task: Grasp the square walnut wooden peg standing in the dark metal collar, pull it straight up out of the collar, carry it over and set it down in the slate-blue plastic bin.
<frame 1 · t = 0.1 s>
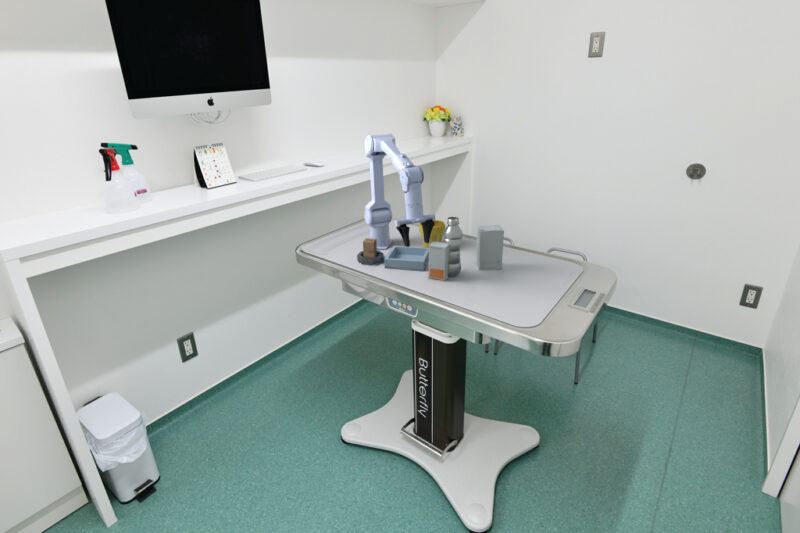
hand: (417, 244, 152), 11 cm above the table, tool pointing down, fingers open, 7 cm apart
peg: (370, 250, 166), in the collar
plant pot: (431, 247, 181), on the table
bin: (408, 262, 166), on the table
collar: (370, 260, 168), on the table
silver tall piece: (451, 275, 155), on the table, touching skincare box
skincare box: (438, 277, 153), on the table, touching silver tall piece
skincare box 2: (488, 267, 161), on the table
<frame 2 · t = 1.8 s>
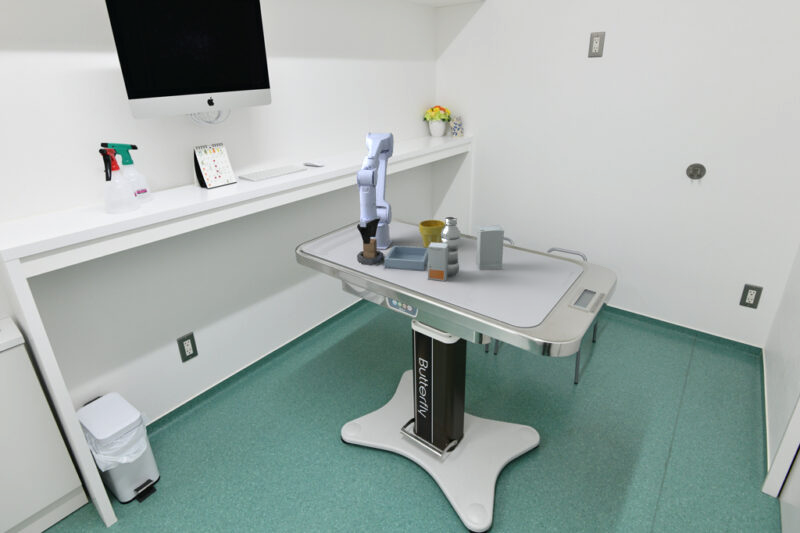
hand: (369, 240, 165), 8 cm above the table, tool pointing down, fingers open, 7 cm apart
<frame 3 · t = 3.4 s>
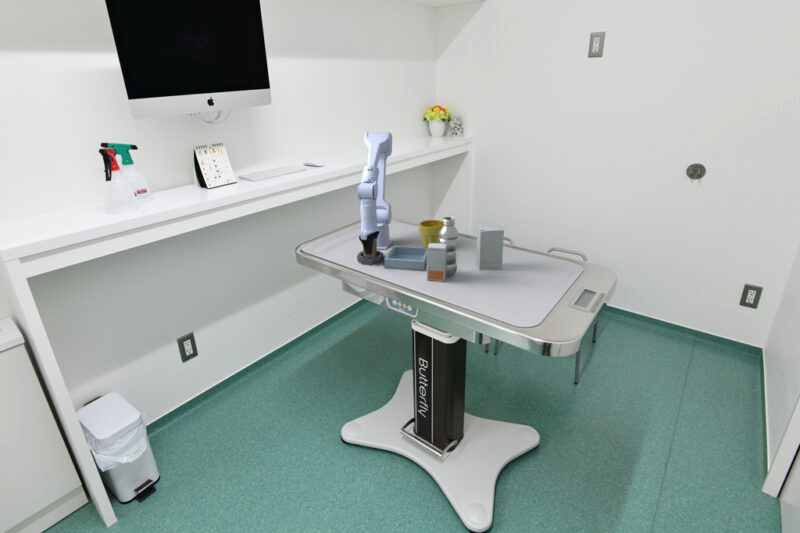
hand: (370, 251, 167), 3 cm above the table, tool pointing down, fingers closed on peg, 4 cm apart
peg: (370, 250, 166), in the collar, touching gripper
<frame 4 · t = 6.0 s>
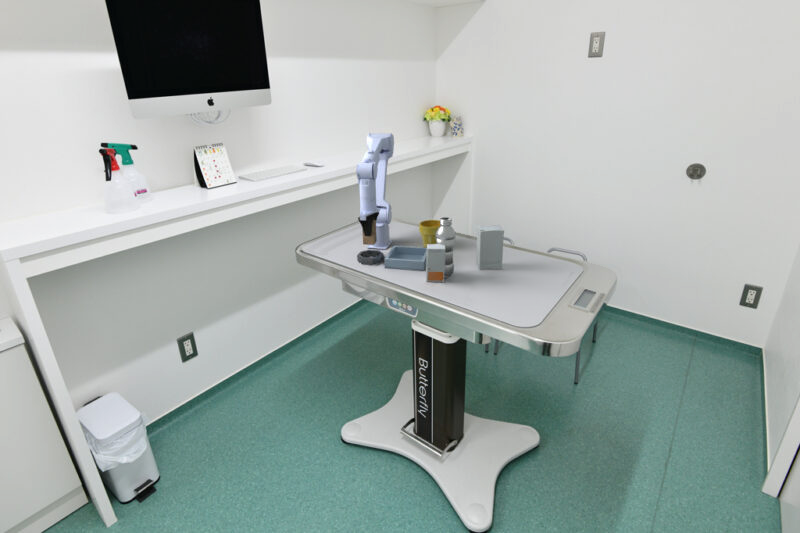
hand: (369, 233, 164), 10 cm above the table, tool pointing down, fingers closed on peg, 4 cm apart
peg: (369, 232, 164), point 11 cm above the table, touching gripper
silver tall piece: (443, 275, 155), on the table, touching skincare box
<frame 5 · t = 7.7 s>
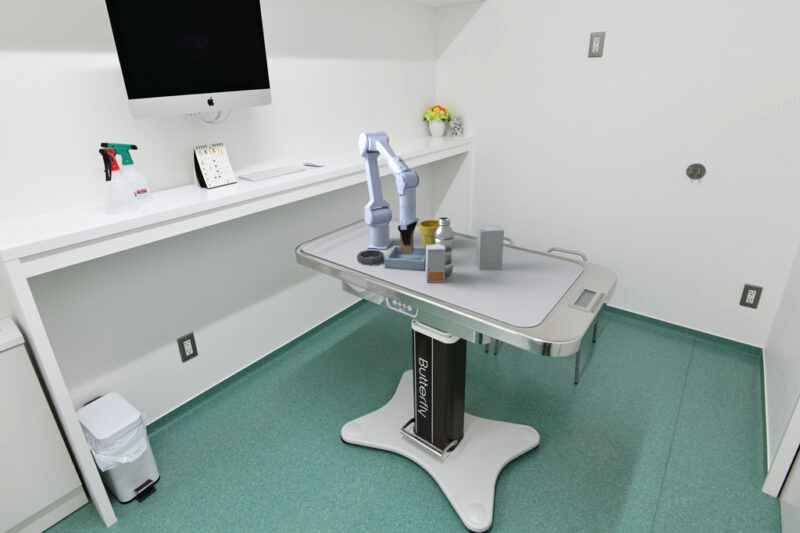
hand: (407, 242, 163), 8 cm above the table, tool pointing down, fingers closed on peg, 4 cm apart
peg: (407, 241, 163), point 8 cm above the table, touching gripper
when the fingers open (5 cm above the table, at t = 9.0 s): peg stays where it is, resting on bin.
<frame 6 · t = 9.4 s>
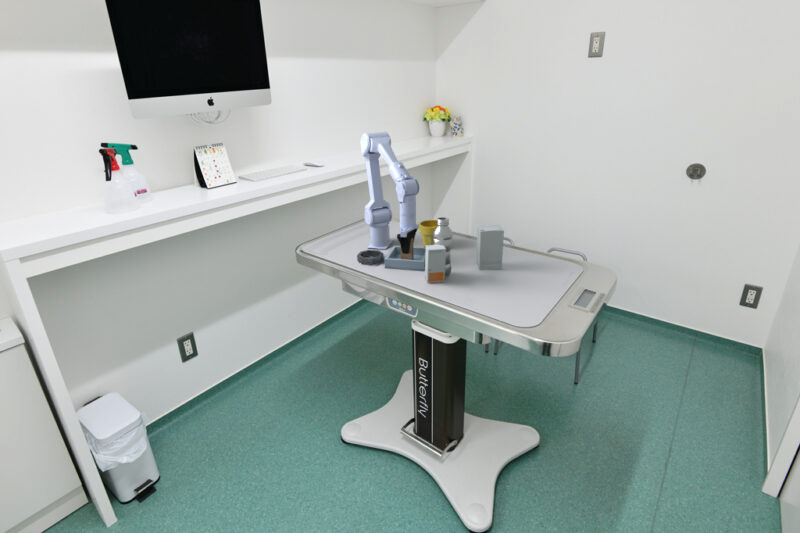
hand: (407, 249, 164), 5 cm above the table, tool pointing down, fingers open, 7 cm apart
peg: (407, 250, 164), in the bin, point 5 cm above the table
silver tall piece: (441, 276, 154), on the table, touching skincare box
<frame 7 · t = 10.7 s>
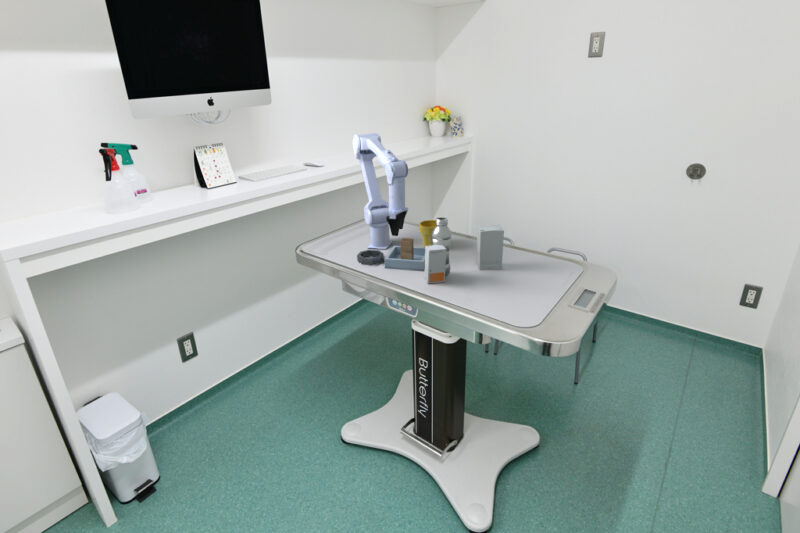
hand: (397, 232, 166), 10 cm above the table, tool pointing down, fingers open, 7 cm apart
silver tall piece: (440, 276, 154), on the table, touching skincare box
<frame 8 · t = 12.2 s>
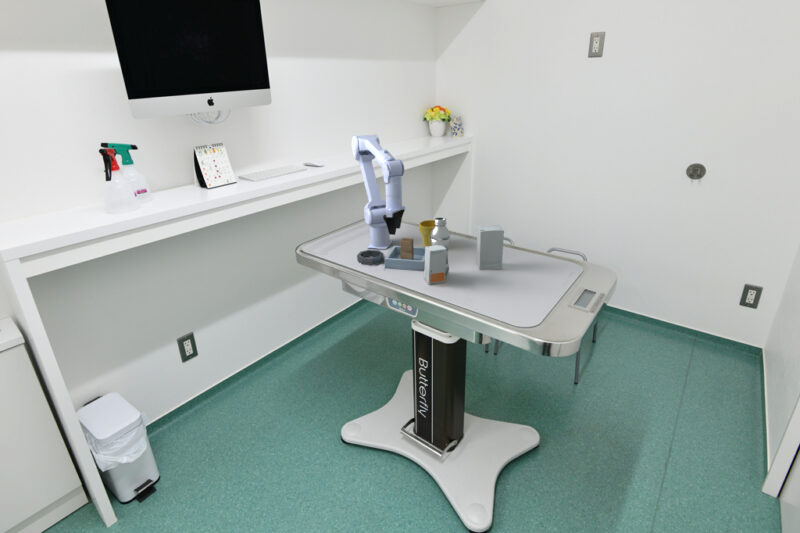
hand: (394, 231, 166), 10 cm above the table, tool pointing down, fingers open, 7 cm apart
silver tall piece: (439, 276, 154), on the table, touching skincare box
at the end: peg inside the target area on the bin (0.3 cm from its centre), point 4.6 cm above the bin's base; peg tilted 0°; the gripper is holding nothing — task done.
